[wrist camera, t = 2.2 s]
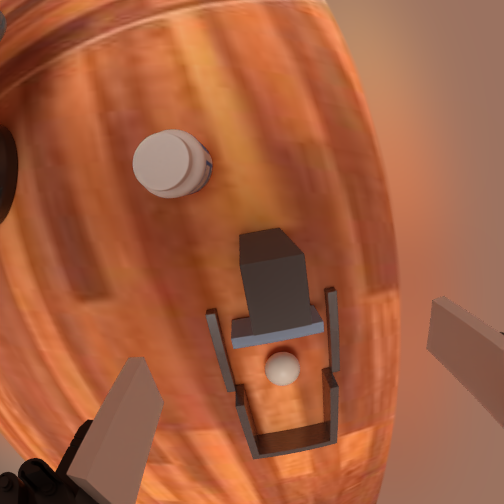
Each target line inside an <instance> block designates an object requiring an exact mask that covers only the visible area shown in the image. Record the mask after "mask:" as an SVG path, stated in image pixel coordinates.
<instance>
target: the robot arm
mask: <svg viewBox="0 0 504 504" xmlns="http://www.w3.org/2000/svg"><path fill="white" fill-rule="evenodd" d="M6 28H7V21H6V18H5V16H4V15H3V13H2V12H1V11H0V41H1V39H2V38H3V36H4V34H5V32H6ZM16 179H17V153H16V147H15V143H14V140H13V137H12V135H11V133H10V132H9V130H8V129H7V128H6V127H4V126H2V125H0V223H1V222H2V221H3V220H4V218H5V216H6V215H7V213H8V211H9V208H10V206H11V203H12V200H13V196H14V192H15V186H16ZM427 350H428V351H429V352H430V353H431V354H432V355H433V356H435V357H436V359H438V360H439V361H440V362H441V363H442V364H443V365H444V366H445V367H446V368H447V369H448V370H449V371H450V372H451V373H452V374H453V375H454V376H455V377H456V378H457V379H458V381H459V382H460V383H461V384H462V385H463V386H464V387H465V388H466V389H467V390H468V391H469V392H470V393H471V394H472V395H473V396H474V397H475V398H476V399H477V400H478V401H479V402H480V403H481V404H482V406H483V407H484V408H485V409H486V410H487V411H488V412H489V413H490V414H491V415H492V416H493V417H494V419H495V420H496V421H497V422H498V423H499V424H500V425H501V426H502V427H503V428H504V333H502V332H498V331H497V330H495V329H494V328H492V327H491V326H490V325H488V324H486V323H485V322H484V321H482V320H481V319H479V318H477V317H476V316H474V315H473V314H471V313H470V312H468V311H467V310H465V309H463V308H462V307H460V306H459V305H457V304H456V303H454V302H452V301H451V300H449V299H448V298H446V297H445V296H443V297H440V298H437V299H434V300H432V309H431V318H430V327H429V335H428V341H427ZM163 404H164V401H163V399H162V397H161V395H160V393H159V391H158V389H157V386H156V384H155V382H154V380H153V377H152V375H151V373H150V370H149V368H148V366H147V363H146V361H145V358H144V357H133V358H128V360H127V362H126V363H125V365H124V367H123V368H122V370H121V372H120V374H119V375H118V377H117V379H116V381H115V382H114V384H113V386H112V388H111V389H110V391H109V393H108V395H107V397H106V398H105V400H104V402H103V404H102V406H101V407H100V409H99V411H98V413H97V415H96V417H95V418H94V420H87V421H86V422H85V423H84V424H83V425H81V426H80V427H79V429H78V431H77V432H76V434H75V436H74V439H73V440H72V441H71V443H70V447H68V449H67V451H66V453H65V454H64V456H63V458H62V460H61V462H60V464H59V466H58V468H57V470H56V472H54V471H53V470H52V469H51V468H50V467H49V465H48V464H47V463H46V462H44V461H43V460H42V459H38V458H33V459H29V460H27V461H25V462H24V463H23V464H22V465H21V467H20V469H19V471H18V477H17V476H16V475H15V474H13V473H11V472H5V473H3V474H1V475H0V504H135V503H136V499H137V495H138V491H139V487H140V484H141V480H142V476H143V473H144V469H145V465H146V462H147V458H148V455H149V451H150V448H151V444H152V441H153V437H154V434H155V431H156V427H157V424H158V421H159V417H160V414H161V411H162V408H163ZM22 481H23V482H22Z"/></svg>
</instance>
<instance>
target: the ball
mask: <svg viewBox="0 0 504 504" xmlns="http://www.w3.org/2000/svg"><path fill="white" fill-rule="evenodd" d="M299 373H300V364H299V361H298V359H297V358H296V357H295V356H294V355H292V354H291V353H288V352H278V353H275V354H273V355H272V356H271V357H270V358H269V359H268V360H267V362H266V365H265V374H266V376H267V378H268V379H269V380H270V381H271V382H272V383H274V384H276V385H280V386H284V385H288V384H291V383H292V382H294V381H295V380H296V379H297V377H298V375H299Z"/></svg>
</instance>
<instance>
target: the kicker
mask: <svg viewBox="0 0 504 504" xmlns="http://www.w3.org/2000/svg"><path fill="white" fill-rule="evenodd" d="M239 239H240V269H241V275H242V280H243V285H244V290H245V295H246V300H247V305H248V310H249V315H250V317H248V318H242V319H236V320H232V331H231V340H232V344H233V348H234V349H236V348H243V347H249V346H255V345H261V344H267V343H272V342H278V341H283V340H288V339H293V338H298V337H303V336H307V335H312V334H317V333H321V332H324V325H323V320H322V318H321V317H320V315H319V314H318V312H317V310H316V309H315V307H314V305H311V306H310V299H309V290H308V281H307V273H306V265H305V257H304V253H303V252H302V251H301V250H300V249H299V248H298V247H297V246H296V245H295V244H294V242H293V241H292V240H291V239H290V238H289V237H288V236H287V235H286V234H285V233H284V232H283V231H282V230H281V229H280V228H275V229H270V230H264V231H258V232H252V233H247V234H241V235H239Z"/></svg>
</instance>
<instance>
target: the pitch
mask: <svg viewBox="0 0 504 504" xmlns="http://www.w3.org/2000/svg"><path fill="white" fill-rule="evenodd" d="M325 300H326V313H327V328H328V345H329V368H325V369H322V381H323V407H324V422H323V423H319V424H315V425H311V426H306V427H301V428H297V429H292V430H286V431H281V432H275V433H269V434H262V435H257V432H256V428H255V425H254V421H253V417H252V414H251V410H250V406H249V403H248V399H247V395H246V392H245V388H244V384H241V385H235V381H234V377H233V374H232V370H231V367H230V363H229V359H228V355H227V352H226V348H225V344H224V340H223V336H222V332H221V328H220V324H219V320H218V316H217V312H216V309H212V310H207V311H206V319H207V322H208V326H209V330H210V334H211V337H212V341H213V344H214V348H215V352H216V355H217V358H218V362H219V365H220V369H221V372H222V375H223V379H224V382H225V385H226V388H227V392H233V391H236V409H237V412H238V415H239V419H240V422H241V425H242V428H243V431H244V434H245V437H246V440H247V443H248V446H249V448H250V451H251V454H252V457H253V459H259V458H266V457H273V456H279V455H285V454H291V453H296V452H301V451H306V450H310V449H315V448H319V447H323V446H327V445H331V444H335V443H337V431H338V393H339V386H338V384H337V382H336V380H335V378H334V376H333V374H332V373H333V372H337V371H340V358H339V325H338V306H337V291H336V290H335V289H334V288H333V287H331V288H326V289H325Z"/></svg>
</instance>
